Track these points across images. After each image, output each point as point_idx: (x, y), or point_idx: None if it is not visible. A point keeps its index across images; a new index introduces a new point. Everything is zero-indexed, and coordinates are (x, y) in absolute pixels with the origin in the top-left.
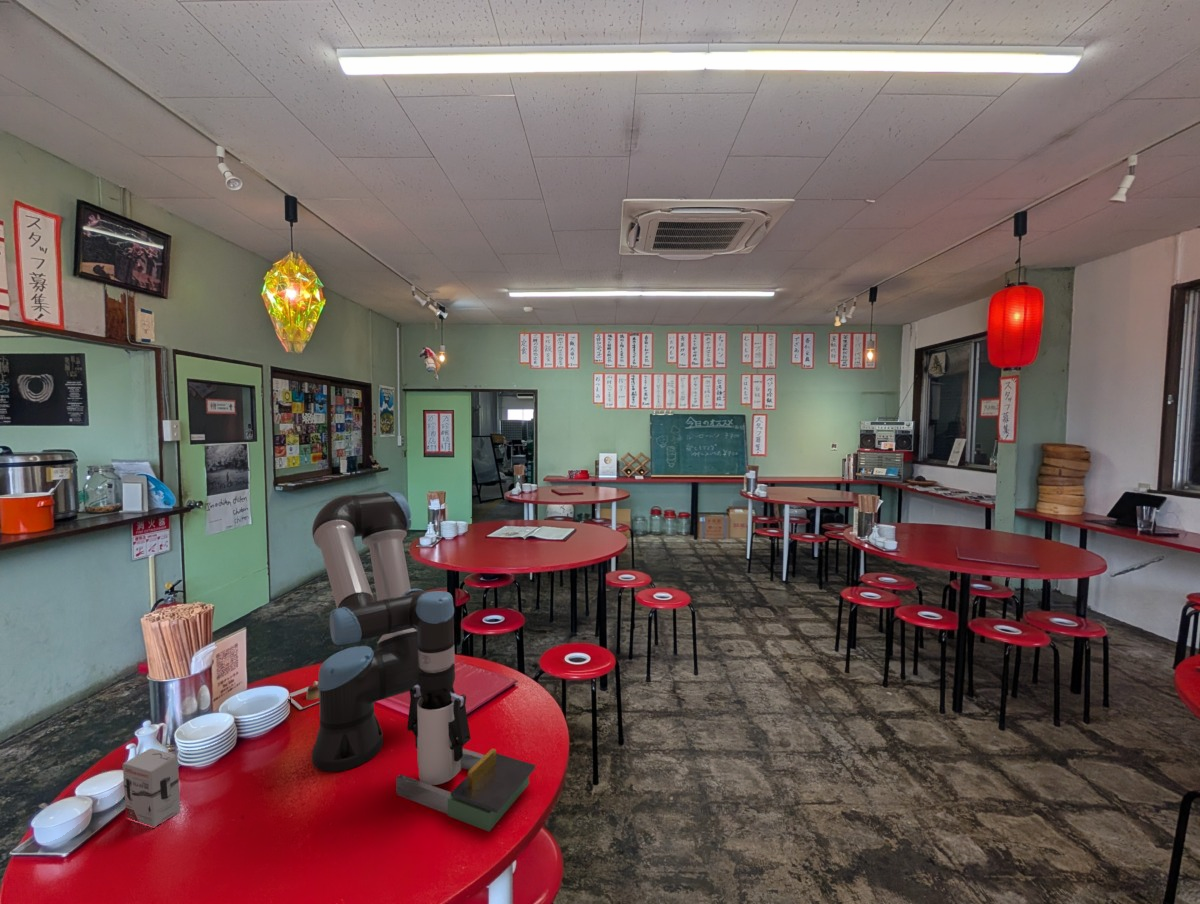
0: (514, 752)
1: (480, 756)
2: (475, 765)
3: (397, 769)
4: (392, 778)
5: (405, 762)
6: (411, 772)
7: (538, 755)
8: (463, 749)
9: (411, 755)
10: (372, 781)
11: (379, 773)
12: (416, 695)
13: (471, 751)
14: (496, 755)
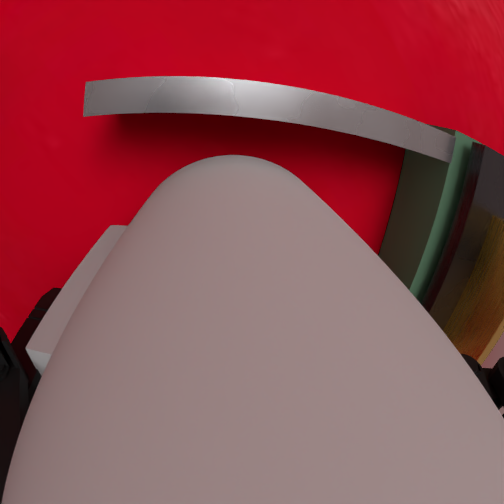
0: (431, 7)
1: (421, 142)
2: (481, 356)
3: (29, 235)
4: (54, 277)
5: (20, 192)
6: (79, 229)
7: (491, 34)
8: (296, 95)
9: (9, 149)
10: (26, 303)
11: (9, 271)
12: None
13: (358, 105)
14: (498, 167)
